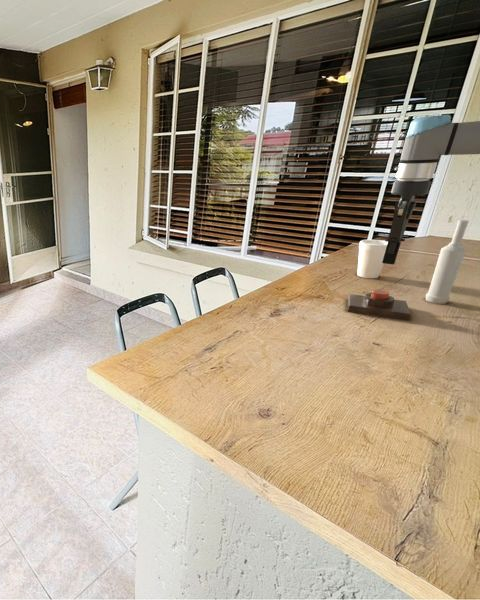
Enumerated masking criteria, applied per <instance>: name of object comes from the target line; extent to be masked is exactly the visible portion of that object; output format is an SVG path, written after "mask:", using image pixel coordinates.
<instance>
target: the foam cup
mask: <svg viewBox="0 0 480 600" xmlns="http://www.w3.org/2000/svg"><path fill="white" fill-rule="evenodd" d="M387 244H388V242H385V240H383V239H361V240H360V241H359V245H358V258H357V259H358V262H357V271H356V273H357V274H356V275H357V276H358V277H361V278H365V279H378V278H379V276H380V274H381V272H382V270H383V267H384V265H385V263H382V261H383V258H384V254H385V251H386V247H387Z"/></svg>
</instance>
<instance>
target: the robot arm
mask: <svg viewBox="0 0 480 600" xmlns="http://www.w3.org/2000/svg"><path fill="white" fill-rule="evenodd" d="M451 119H452V116H451V115H450V114H440V115H439V114H437V115H426V116H418V117H416V118H414V119H413V120H412V121H411V122H410V124H409V127H408V130H407V134H406V136H405V139H404V144H403V148H402V151H401V155H400V160H399V164H398V166H395V168H394V171H396V173H395V174H396V175H395V179H397V180H395V181H394V182H393V183H392V188H391V192H390V193H391V195H392V196H393V195H394V196H400V198H399V200H397V201H395V204H394V210H393V211H394V212H393V215H392V222H391V225H390V230H389V234H388V237H387V238H386V239H385V240H384V241H385V242H388V244H387V247H386V251H385V254H384V258H383V261H382V263H384V265H385V264H386V265H393V266H394V265H395V264H396V260H397V257H398V254H399V250H400V247H401V244H402V242H405V241H406V239H405V238H404V237H405V231H406V230H407V229H406V228H407V225H408V222H409V220H410V217H411V216H412V214H413V212H414V211H413V210H414V208H415V207H416V205H417V201H414V200H415V197H420V196H421V197H422V196H426V195H427V194H428V193H429V190H430V187H431V184H432V181H431V180H430V179H433V178H434V175H435V171H436V169H437V166H438V161H439V158H440V156H461V155H462V156H463V155H465V156H466V155H467V156H469V155H470V156H471V155H480V120H475V121H465V122H464V121H463V122H452V120H451Z"/></svg>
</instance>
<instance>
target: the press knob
mask: <svg viewBox="0 0 480 600" xmlns="http://www.w3.org/2000/svg"><path fill="white" fill-rule="evenodd" d="M370 293H371V297H372V298H374V299H380V300H388V297H389V296H390V292H389V291H387V290H383V289H373V290H371V292H370Z"/></svg>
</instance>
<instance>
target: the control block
mask: <svg viewBox="0 0 480 600" xmlns="http://www.w3.org/2000/svg"><path fill="white" fill-rule="evenodd" d="M371 293H372V292H368V293H367V292H366V293H365V294H364V295H361V294H354V293H353V294H352V293H348V296H347V312H350V313H356V314H363V315H370V316H378V317H383V318H391V319H398V320H403V321H410V319H411V316H412V312H411V311H410V307H409V305H408V303H407V301H406V300H401V299H395V297H393V296H391V295H389V297H388V300H380V299H374V298H372V297H371Z"/></svg>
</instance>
